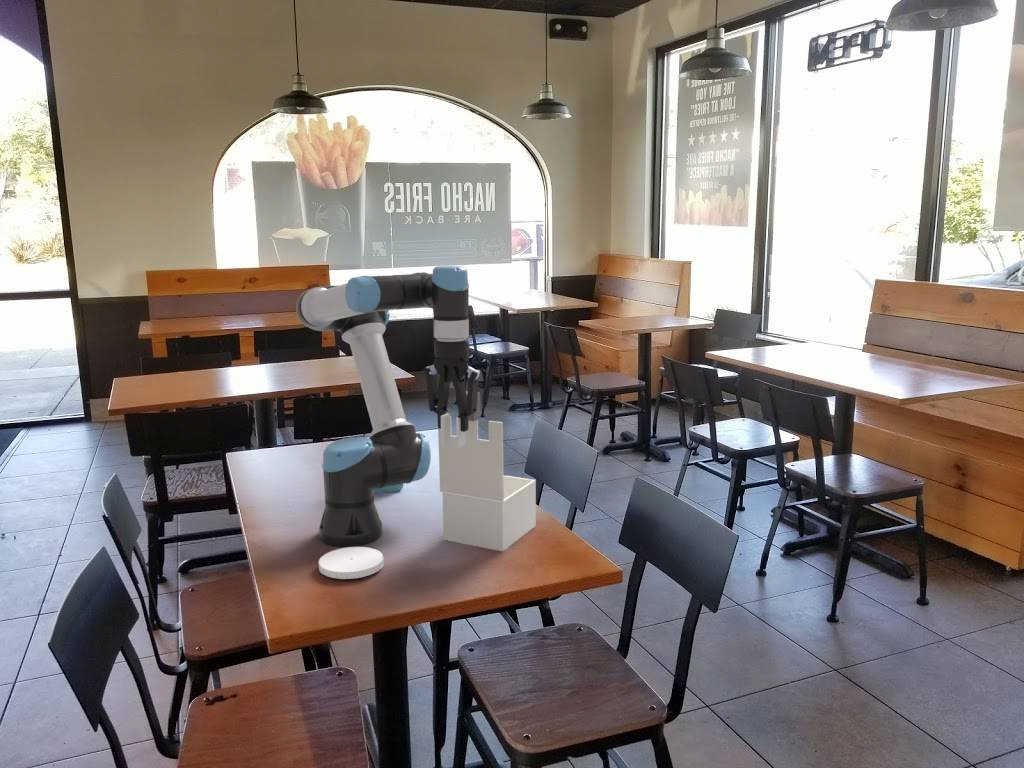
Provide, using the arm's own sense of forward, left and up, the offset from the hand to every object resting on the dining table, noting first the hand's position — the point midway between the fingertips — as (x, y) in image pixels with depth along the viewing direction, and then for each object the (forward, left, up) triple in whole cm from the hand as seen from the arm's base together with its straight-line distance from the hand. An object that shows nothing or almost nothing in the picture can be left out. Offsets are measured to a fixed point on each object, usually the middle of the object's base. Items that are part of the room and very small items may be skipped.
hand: (453, 444), depth 182 cm
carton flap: (+9, 0, -2) cm, 9 cm away
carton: (+17, 0, -27) cm, 32 cm away
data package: (+32, +43, -27) cm, 60 cm away
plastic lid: (-15, +18, -27) cm, 36 cm away
